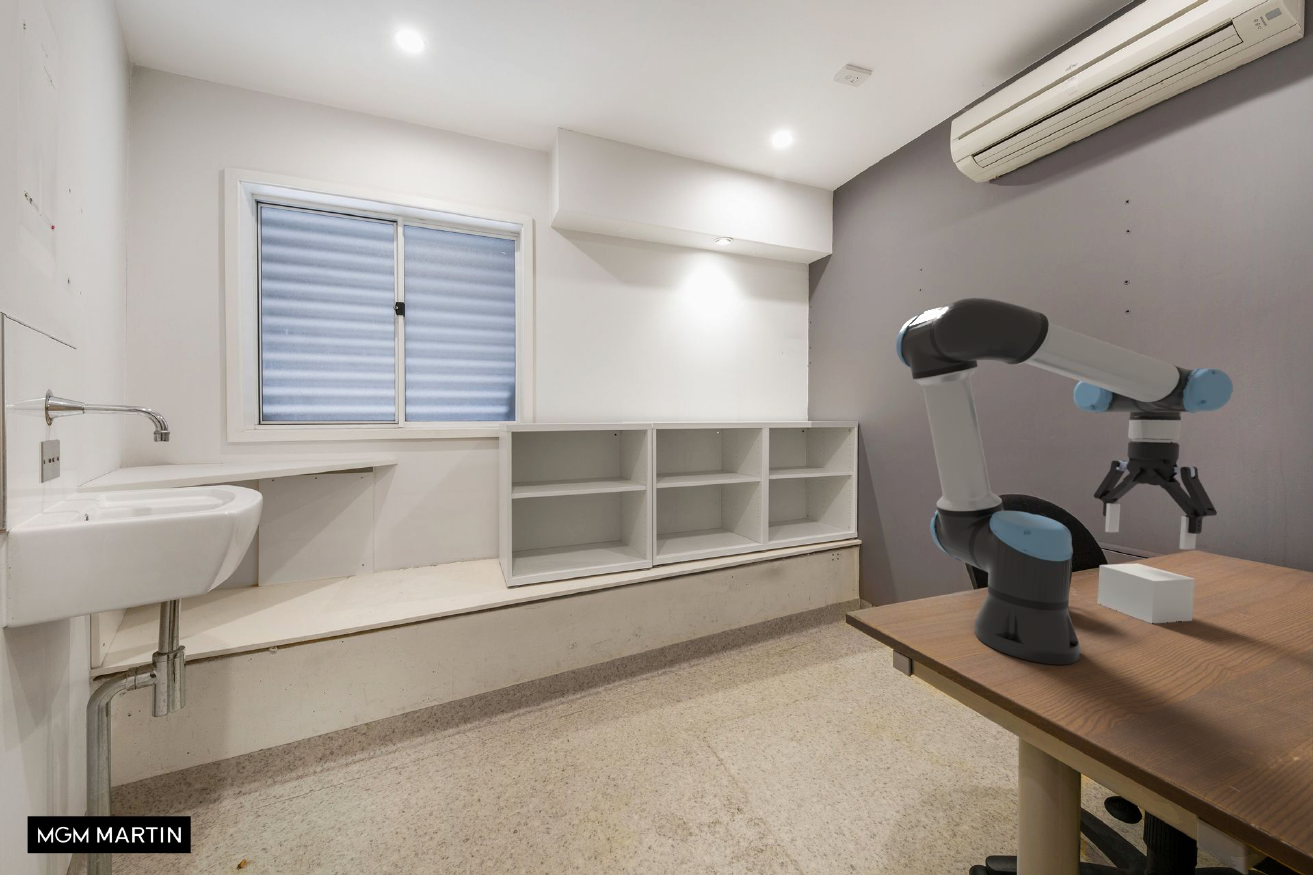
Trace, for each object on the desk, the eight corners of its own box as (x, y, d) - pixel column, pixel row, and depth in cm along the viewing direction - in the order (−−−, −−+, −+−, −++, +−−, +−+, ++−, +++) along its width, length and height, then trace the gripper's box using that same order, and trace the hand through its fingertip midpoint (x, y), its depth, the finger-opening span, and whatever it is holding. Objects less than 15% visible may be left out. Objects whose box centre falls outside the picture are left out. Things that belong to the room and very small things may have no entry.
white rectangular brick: (1151, 623, 96) (1154, 580, 95) (1097, 603, 106) (1099, 565, 106) (1192, 620, 98) (1195, 578, 97) (1135, 601, 108) (1137, 563, 107)
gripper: (1249, 444, 88) (1241, 556, 89) (1103, 437, 113) (1098, 525, 114) (1217, 444, 87) (1209, 557, 88) (1077, 437, 112) (1072, 526, 113)
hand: (1147, 539), depth 101 cm, fingers open, 13 cm apart
